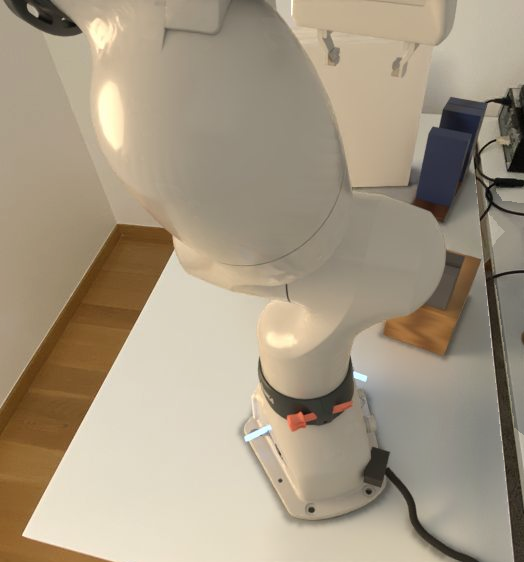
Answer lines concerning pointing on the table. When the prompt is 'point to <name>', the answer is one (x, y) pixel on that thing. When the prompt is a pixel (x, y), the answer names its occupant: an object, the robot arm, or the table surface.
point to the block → (373, 103)
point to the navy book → (442, 165)
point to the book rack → (461, 119)
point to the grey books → (446, 282)
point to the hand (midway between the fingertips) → (364, 69)
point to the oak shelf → (435, 315)
